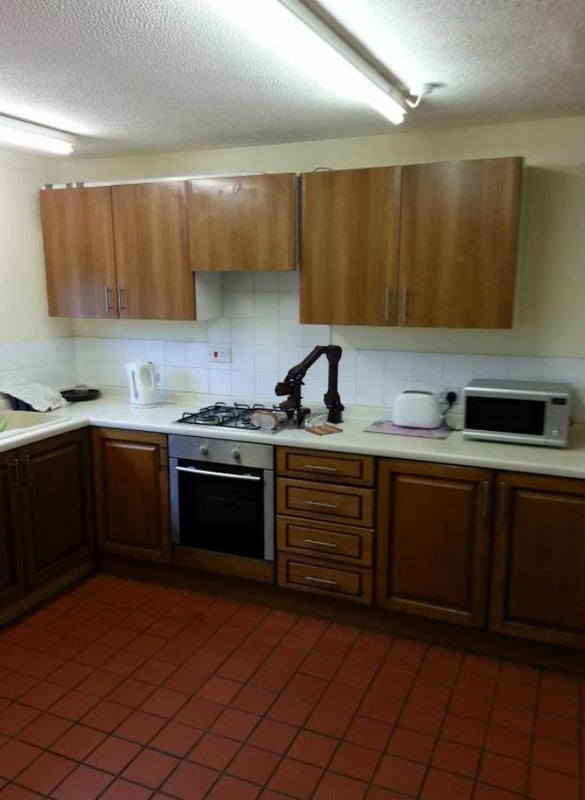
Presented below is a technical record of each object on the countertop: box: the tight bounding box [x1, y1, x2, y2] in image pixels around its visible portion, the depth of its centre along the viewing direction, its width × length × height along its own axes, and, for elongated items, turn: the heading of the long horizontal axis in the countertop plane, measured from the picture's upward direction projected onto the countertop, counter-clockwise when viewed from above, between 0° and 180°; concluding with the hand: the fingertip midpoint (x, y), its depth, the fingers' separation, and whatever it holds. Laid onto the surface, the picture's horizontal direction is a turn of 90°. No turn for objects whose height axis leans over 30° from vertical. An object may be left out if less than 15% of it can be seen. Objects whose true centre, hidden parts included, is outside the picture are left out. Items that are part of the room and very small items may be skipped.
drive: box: [283, 416, 306, 431], centre depth 315 cm, size 10×4×5 cm, turn 133°
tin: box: [250, 409, 280, 429], centre depth 313 cm, size 15×3×8 cm, turn 59°
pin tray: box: [304, 420, 344, 437], centre depth 310 cm, size 14×12×4 cm
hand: (294, 425), depth 316 cm, fingers open, 6 cm apart
